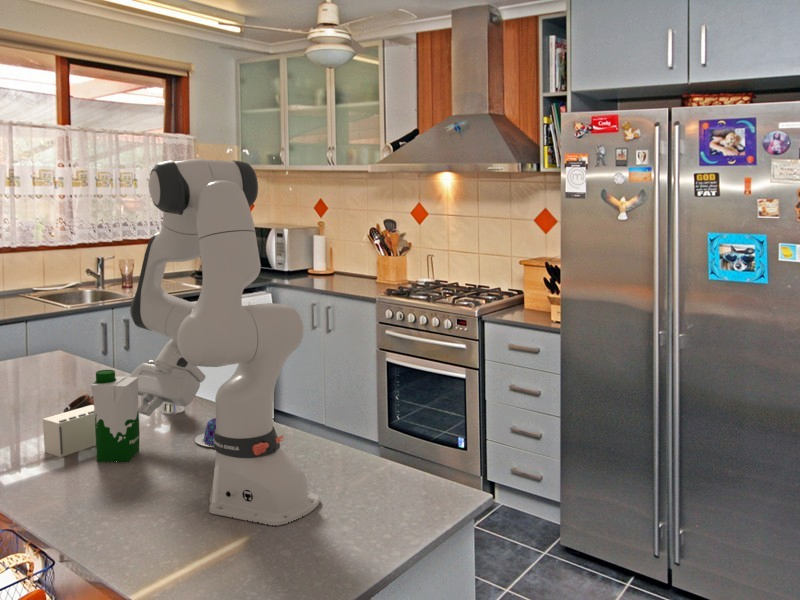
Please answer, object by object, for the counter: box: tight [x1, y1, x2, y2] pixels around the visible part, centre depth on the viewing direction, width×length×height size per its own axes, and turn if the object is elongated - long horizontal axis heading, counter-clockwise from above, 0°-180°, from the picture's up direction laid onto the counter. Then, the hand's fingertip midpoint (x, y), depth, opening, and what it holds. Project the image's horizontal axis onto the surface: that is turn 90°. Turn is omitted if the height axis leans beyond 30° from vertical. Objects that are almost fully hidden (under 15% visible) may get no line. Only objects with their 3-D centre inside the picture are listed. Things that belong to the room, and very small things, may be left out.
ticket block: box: [42, 405, 96, 458], centre depth 175 cm, size 6×13×8 cm, turn 149°
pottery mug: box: [63, 393, 94, 413], centre depth 194 cm, size 12×10×8 cm
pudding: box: [194, 417, 216, 448], centre depth 182 cm, size 12×12×5 cm
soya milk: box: [90, 369, 141, 463], centre depth 168 cm, size 9×9×20 cm
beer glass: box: [160, 402, 185, 415], centre depth 202 cm, size 7×7×15 cm
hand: (143, 413), depth 175 cm, fingers closed
